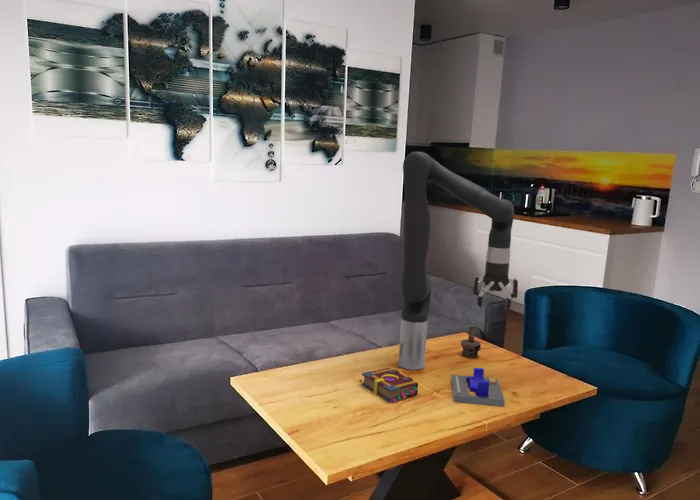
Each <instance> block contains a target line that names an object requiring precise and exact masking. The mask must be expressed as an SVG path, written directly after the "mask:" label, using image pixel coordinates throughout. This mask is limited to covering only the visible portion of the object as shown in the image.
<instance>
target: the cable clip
mask: <svg viewBox="0 0 700 500" xmlns="http://www.w3.org/2000/svg"><path fill="white" fill-rule="evenodd" d="M484 369H485V368H481V367H480V368H479V367H473V373H472V374H473V375H472V376H471V375H468V376H469V378H468V383H467V387H468V388H469V389H468V390H469V392H471V393H475V396H486V397H488V392H489V381H484V378H485V377H484V375H485V370H484Z"/></svg>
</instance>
